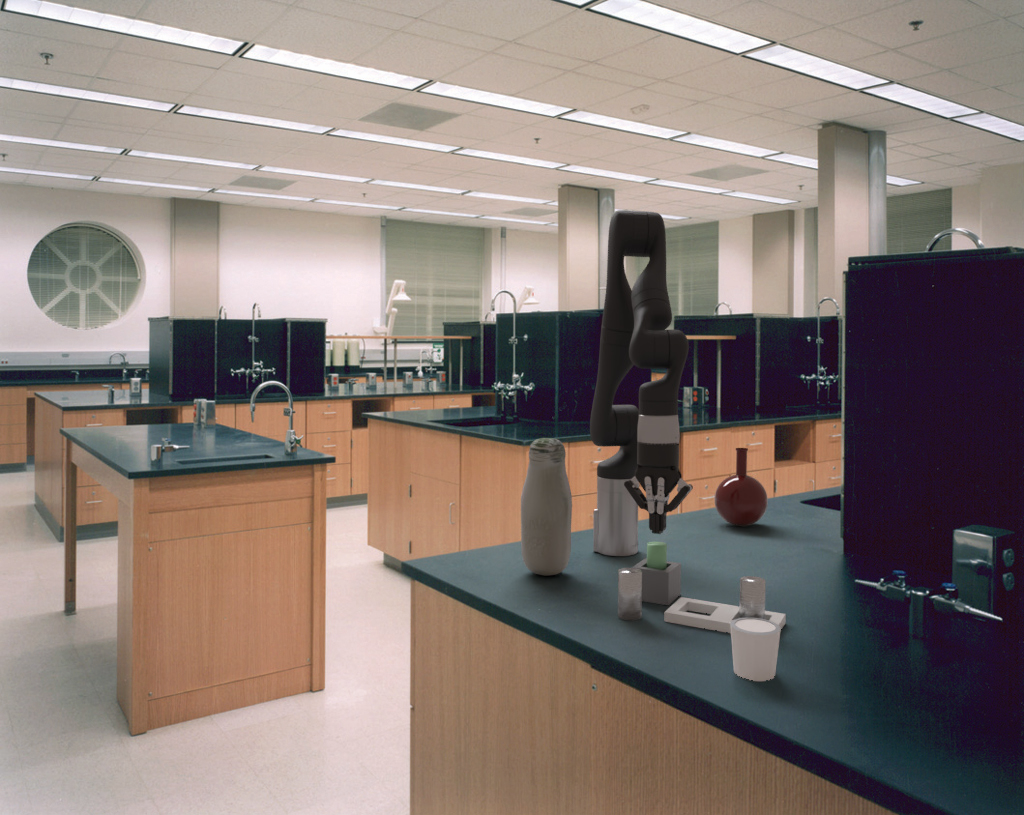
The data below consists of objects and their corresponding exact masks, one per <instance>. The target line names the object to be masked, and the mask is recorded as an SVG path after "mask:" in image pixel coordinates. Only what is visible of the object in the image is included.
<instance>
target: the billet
mask: <svg viewBox="0 0 1024 815" xmlns="http://www.w3.org/2000/svg"><path fill="white" fill-rule="evenodd" d="M617 573H618V575H617V576H618V582H617V586H618V588H617V593H618V594H617V597H618V598H617V600H618V601H617V617H618V619H620V620H621V619H622V620H624V621H638V620H640V619H642V613H643V611H642V610H643V609H642V604H643V603H642V602H643V601H642V571H641V570H640V569H637V568H632V567H622V568H619V569H618V572H617Z"/></svg>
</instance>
